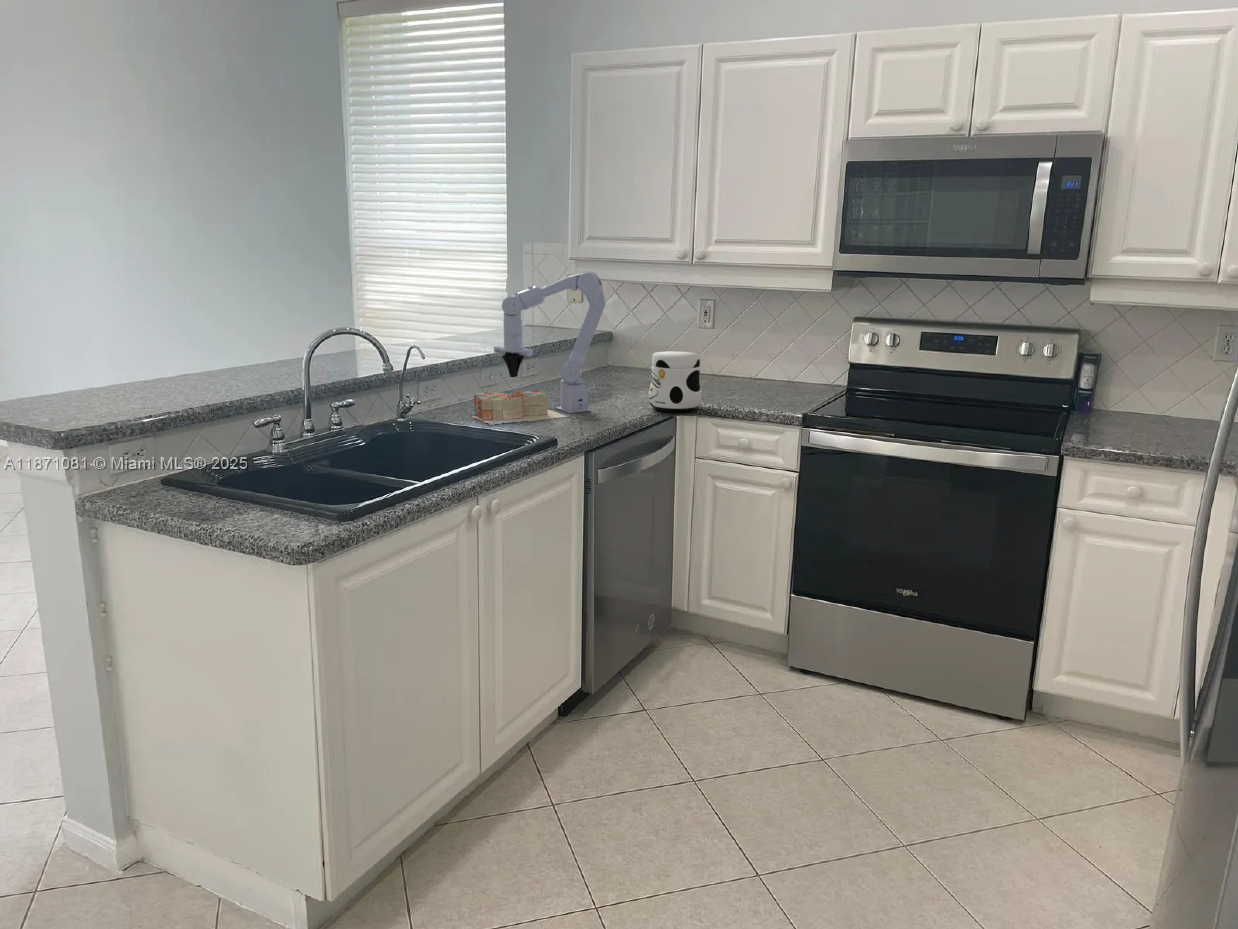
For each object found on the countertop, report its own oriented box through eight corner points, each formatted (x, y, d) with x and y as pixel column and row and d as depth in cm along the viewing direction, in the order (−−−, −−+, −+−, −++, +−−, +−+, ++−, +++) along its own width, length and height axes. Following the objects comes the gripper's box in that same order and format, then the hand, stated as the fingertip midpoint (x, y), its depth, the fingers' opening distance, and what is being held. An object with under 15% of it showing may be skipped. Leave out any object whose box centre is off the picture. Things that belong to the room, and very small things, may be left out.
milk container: (637, 408, 294) (638, 353, 290) (672, 402, 306) (674, 349, 302) (676, 416, 282) (678, 359, 278) (712, 409, 294) (714, 354, 290)
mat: (567, 417, 279) (567, 416, 279) (490, 425, 266) (490, 424, 266) (546, 409, 291) (546, 408, 291) (471, 417, 278) (471, 416, 278)
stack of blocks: (539, 390, 288) (550, 396, 277) (539, 409, 290) (550, 416, 279) (473, 393, 281) (482, 400, 270) (474, 413, 282) (482, 421, 271)
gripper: (538, 334, 286) (539, 377, 289) (503, 331, 293) (504, 373, 296) (524, 336, 280) (525, 380, 283) (489, 333, 287) (490, 375, 291)
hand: (513, 376), depth 289 cm, fingers closed
